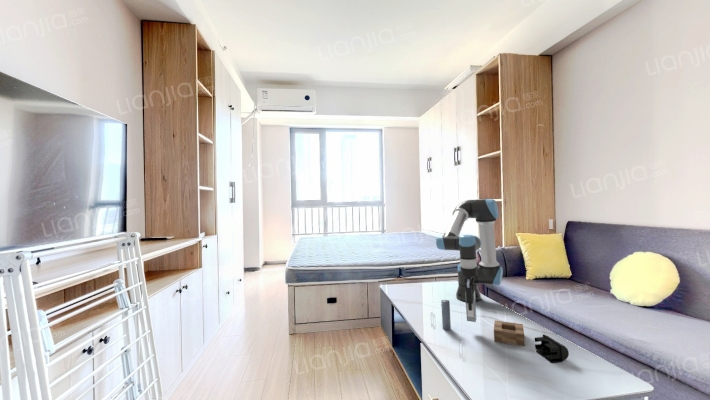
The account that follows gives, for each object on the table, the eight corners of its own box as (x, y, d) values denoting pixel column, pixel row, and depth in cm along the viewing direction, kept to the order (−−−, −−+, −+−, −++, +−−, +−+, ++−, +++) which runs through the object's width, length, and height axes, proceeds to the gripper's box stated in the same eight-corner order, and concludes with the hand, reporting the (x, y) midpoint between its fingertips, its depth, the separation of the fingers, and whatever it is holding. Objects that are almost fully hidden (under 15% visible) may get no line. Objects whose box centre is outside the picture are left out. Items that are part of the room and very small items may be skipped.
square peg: (467, 317, 145) (466, 289, 144) (476, 318, 143) (474, 290, 143) (466, 320, 141) (465, 292, 141) (475, 322, 139) (474, 293, 139)
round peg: (443, 326, 150) (442, 299, 150) (451, 327, 148) (450, 300, 148) (441, 329, 146) (440, 301, 146) (450, 330, 144) (448, 302, 144)
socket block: (495, 330, 142) (494, 320, 142) (523, 334, 137) (522, 324, 137) (494, 341, 131) (493, 330, 132) (524, 346, 126) (524, 334, 126)
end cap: (569, 362, 113) (568, 345, 113) (552, 364, 112) (551, 346, 112) (550, 349, 123) (549, 333, 123) (534, 351, 122) (533, 335, 122)
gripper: (475, 271, 132) (478, 322, 133) (478, 263, 148) (480, 309, 148) (458, 270, 136) (460, 320, 136) (462, 262, 151) (465, 307, 151)
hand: (471, 314), depth 142 cm, fingers closed on square peg, 4 cm apart
